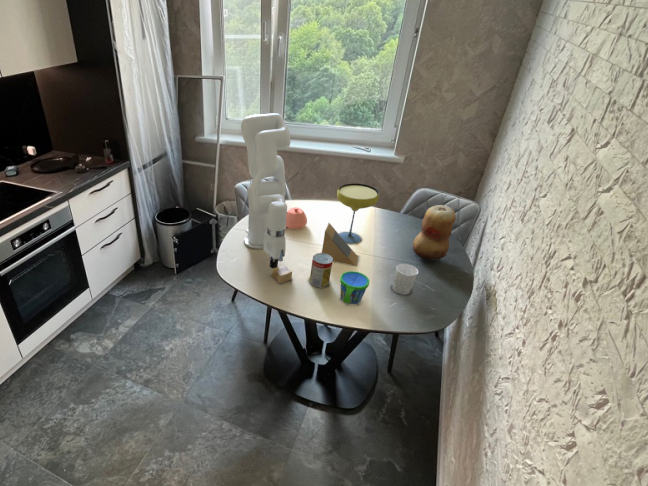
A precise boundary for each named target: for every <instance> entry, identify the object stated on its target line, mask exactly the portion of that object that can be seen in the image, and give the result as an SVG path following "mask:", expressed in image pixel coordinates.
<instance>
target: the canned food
mask: <svg viewBox="0 0 648 486" xmlns="http://www.w3.org/2000/svg"><path fill="white" fill-rule="evenodd" d="M310 267H311V268H310V275H309V284H311V285H312V286H313V287H316V288H326V287H328V286H329V284H330V280H331V274H332V268H333V258H332V257H331V256H330V255H328V254H325V253H322V252H318V253H315V254H313V256H312V261H311V266H310Z"/></svg>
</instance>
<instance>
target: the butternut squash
mask: <svg viewBox="0 0 648 486" xmlns="http://www.w3.org/2000/svg"><path fill="white" fill-rule="evenodd" d="M456 219H457V216H456V212H455V210H454V209H453V208H452V207H449V206H448V205H444V204H438V205H437V204H436V205H433V206H431V207H428V209H427V210H426V212H425V213H424V216H423V219H422V221H421V229H420V232H419V233H418V234H417V235H416V237H415V238H414V239H413V241H412V249H413V253H414V254H415V255H416V256H417V257H419V258H421V259H422V260H425V261H438V260H442V259H443V258H445V257H446V256H447V253H448V252H449V249H450V236H451V235H452V230H453V226H454V223H455V222H456Z"/></svg>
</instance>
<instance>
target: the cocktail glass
mask: <svg viewBox="0 0 648 486" xmlns="http://www.w3.org/2000/svg"><path fill="white" fill-rule="evenodd" d="M336 199H337V200H338V201H339V203H341V204H342V205H344V206H345V207H348V208H350V209H351V210H352V212H353V213H352V219H351V223H350V228H349V231H344V232H340V233H338V234H339V235H340V236H341V237H342V239H343V240H344V241H345V242H346V243H347V244H348V245H349V244H350V245H355V244H358V243H361V240H362V237H361V235H358V234H357V233H355V232H352V231H353V225H354V219H355V214H356V212H357V211H359V210H360V209H361V210H362V209H367V208H371V207H372V206H374V205H376V204H377V203H378V202H379V199H380V191H379V190H378V189H377V188H376V187H374V186H371V185H368V184H365V183H346V184H343V185H340V186H339V187H338V189H337V191H336Z"/></svg>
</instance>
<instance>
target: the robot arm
mask: <svg viewBox="0 0 648 486" xmlns="http://www.w3.org/2000/svg"><path fill="white" fill-rule="evenodd" d="M240 130H241V136H242V138H243V141H244V144H245V147H246V154H247V166H248V174H249V176H250V178H252V180H251V183H250V184H249V185H248V186H247V188H246V192H247V194H246V195H247V201H248V221H247V222H248V223H247V229H246V230H245V233H246V234H247V236H246V237H245V238H244V244H245V245H246V247H248V248H250V249H256V250H260V249H263V251H264V252H265V253H266V254H268V257H269V258H268V259H269V268H270V270H272V269H273V268H276V267H279V262H283V261H284V257H285V256H286V247H287V246H286V244H287V243H286V230H287V229H286V228H287V227H286V217H287V211H288V205H287V203H286V199H285V197H286V194H287V185H286V183H287V182H286V170H285V169H286V167H285V162H284V159H283V158H282V156H281V155H278V151H285V150H287V149H289V148H290V146H291V134H290V131H289V128H288V125H287V124H286V122H285V120H284V117H283V116H282V114H280V113H277V112H276V113H265V114H263V113H262V114H253V115H248V116H245V117H244V118H243V119H242V120H241V124H240ZM264 178H265V179H266V178H273V179H269V180H263V179H264Z"/></svg>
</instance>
